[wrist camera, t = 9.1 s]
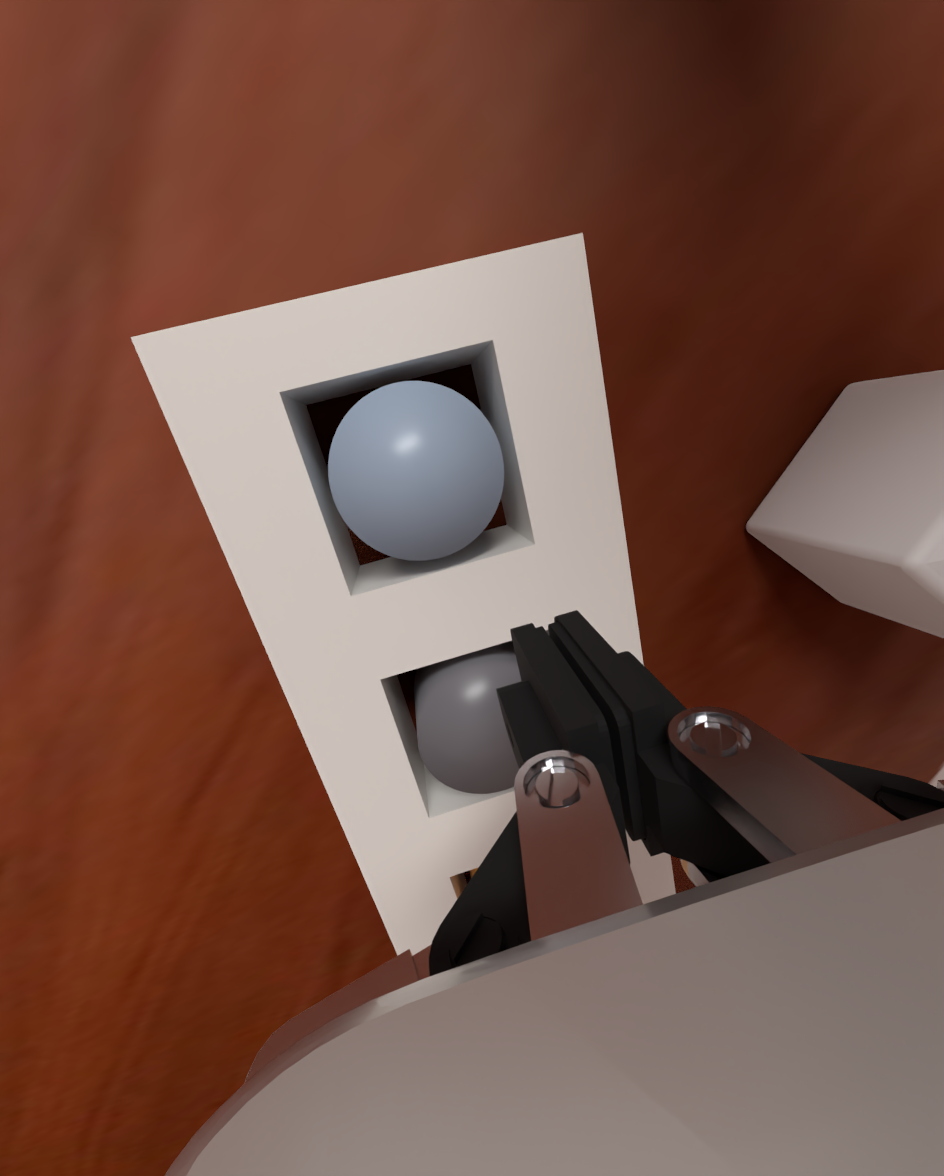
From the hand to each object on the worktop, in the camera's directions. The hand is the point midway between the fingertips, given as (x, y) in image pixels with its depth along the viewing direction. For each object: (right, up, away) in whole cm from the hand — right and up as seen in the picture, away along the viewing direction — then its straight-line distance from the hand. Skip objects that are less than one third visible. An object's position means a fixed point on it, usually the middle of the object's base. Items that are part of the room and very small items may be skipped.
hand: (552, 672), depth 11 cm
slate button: (-4, +6, +5) cm, 9 cm away
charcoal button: (-2, -2, +8) cm, 9 cm away
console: (-2, -2, +9) cm, 9 cm away
